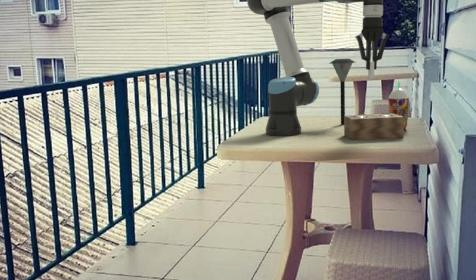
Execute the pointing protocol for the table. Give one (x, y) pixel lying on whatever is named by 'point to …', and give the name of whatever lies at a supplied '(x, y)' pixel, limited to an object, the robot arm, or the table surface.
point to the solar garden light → (342, 79)
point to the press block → (374, 126)
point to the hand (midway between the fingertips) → (370, 78)
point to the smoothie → (399, 103)
